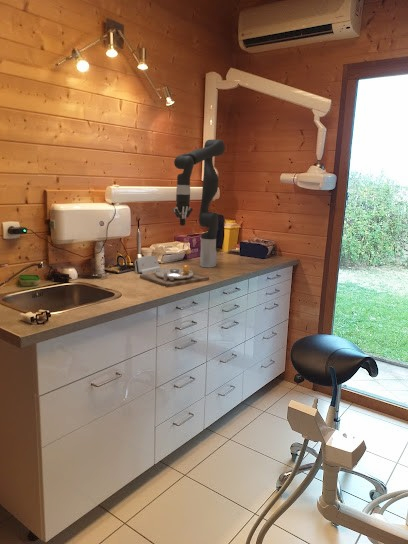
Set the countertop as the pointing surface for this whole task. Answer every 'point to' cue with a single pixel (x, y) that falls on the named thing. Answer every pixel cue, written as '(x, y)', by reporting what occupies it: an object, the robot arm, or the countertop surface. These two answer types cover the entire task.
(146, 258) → the hinge
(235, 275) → the countertop surface
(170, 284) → the base board
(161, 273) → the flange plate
